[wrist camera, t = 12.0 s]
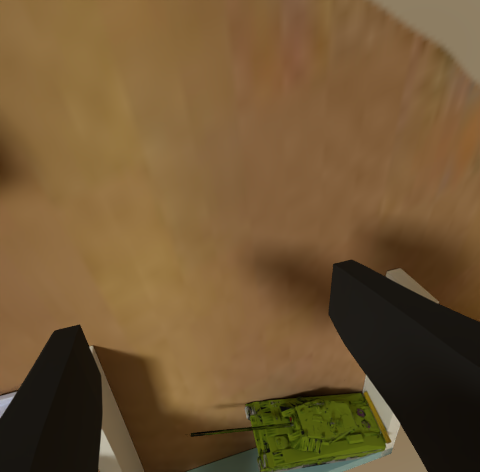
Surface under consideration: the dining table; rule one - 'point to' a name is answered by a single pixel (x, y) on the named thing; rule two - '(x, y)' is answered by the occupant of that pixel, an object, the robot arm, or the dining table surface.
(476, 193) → the dining table surface
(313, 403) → the toy tank
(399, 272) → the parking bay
